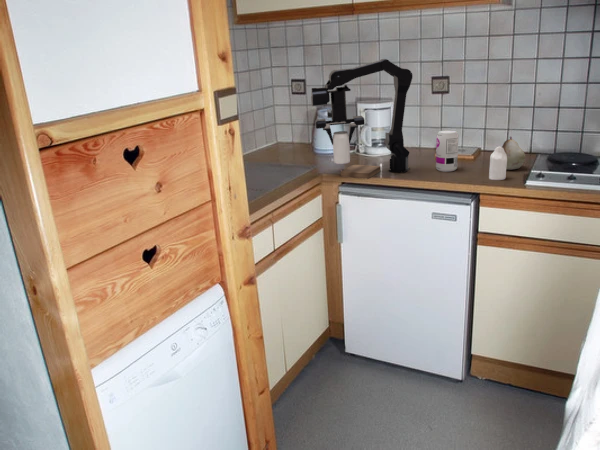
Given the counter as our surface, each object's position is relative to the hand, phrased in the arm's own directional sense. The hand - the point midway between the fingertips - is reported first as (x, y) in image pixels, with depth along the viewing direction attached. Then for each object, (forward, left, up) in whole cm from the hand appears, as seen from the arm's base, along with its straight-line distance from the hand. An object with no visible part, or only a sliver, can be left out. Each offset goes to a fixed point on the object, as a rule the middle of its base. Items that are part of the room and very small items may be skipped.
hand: (340, 144), depth 214 cm
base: (-6, -4, -12) cm, 15 cm away
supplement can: (-36, -20, -13) cm, 43 cm away
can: (0, 0, -8) cm, 8 cm away
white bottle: (-57, -12, -13) cm, 60 cm away
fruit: (-59, -28, -13) cm, 67 cm away
